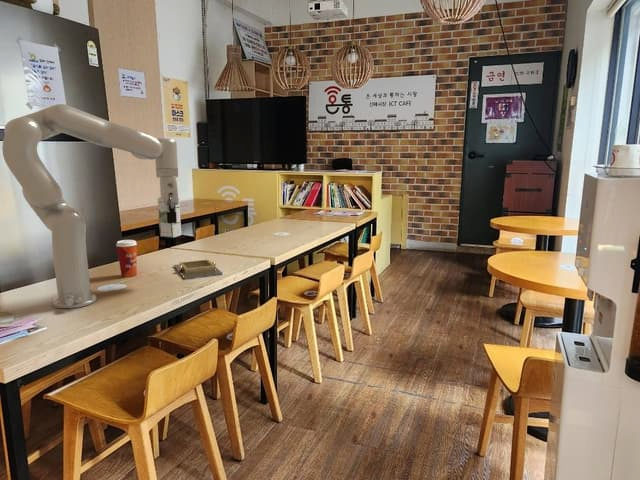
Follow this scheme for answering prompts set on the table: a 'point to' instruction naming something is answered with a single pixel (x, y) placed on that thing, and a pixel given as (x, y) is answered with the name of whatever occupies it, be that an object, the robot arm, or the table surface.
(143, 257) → the table surface
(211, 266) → the gray gold framed panel
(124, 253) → the paper cup
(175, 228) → the syrup box
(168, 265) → the table surface
